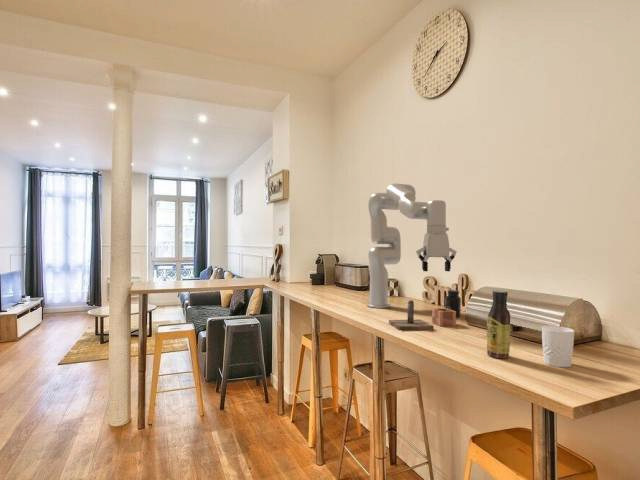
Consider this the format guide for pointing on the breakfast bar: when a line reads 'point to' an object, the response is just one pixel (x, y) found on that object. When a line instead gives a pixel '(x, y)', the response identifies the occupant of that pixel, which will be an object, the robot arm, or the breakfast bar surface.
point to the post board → (411, 326)
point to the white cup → (557, 345)
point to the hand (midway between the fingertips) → (436, 271)
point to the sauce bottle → (498, 326)
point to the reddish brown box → (444, 317)
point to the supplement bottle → (453, 301)
